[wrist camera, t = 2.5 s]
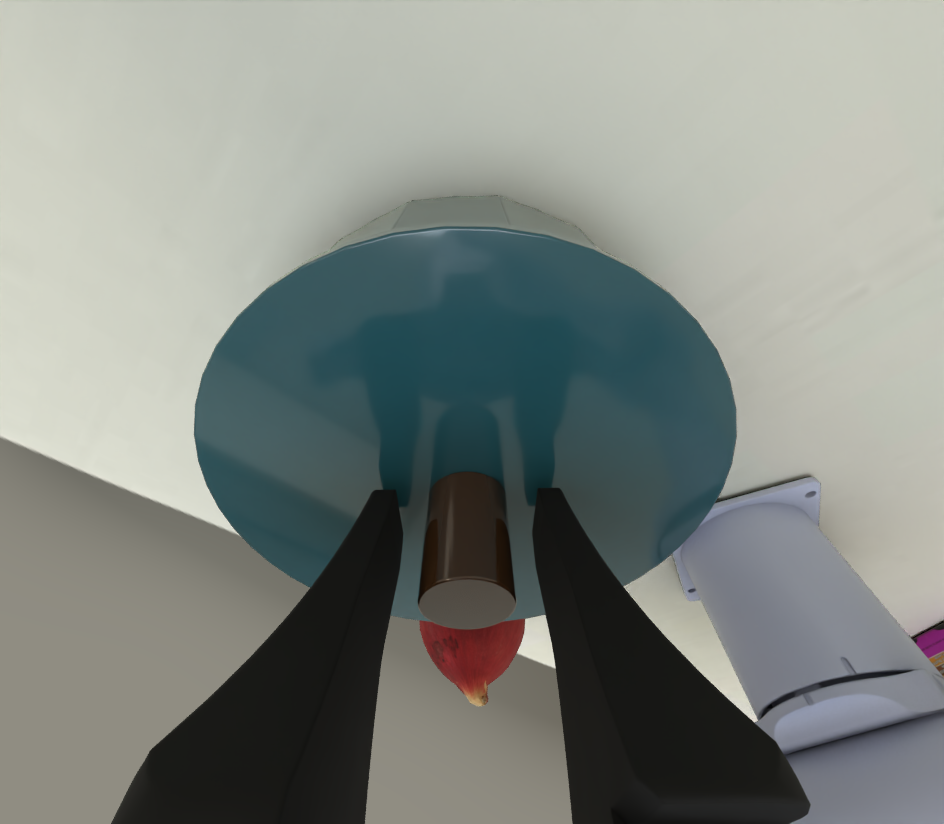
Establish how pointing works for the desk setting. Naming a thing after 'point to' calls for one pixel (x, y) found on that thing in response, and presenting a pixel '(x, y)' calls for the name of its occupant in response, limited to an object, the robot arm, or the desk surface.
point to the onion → (473, 654)
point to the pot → (467, 216)
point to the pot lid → (465, 412)
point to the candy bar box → (933, 646)
